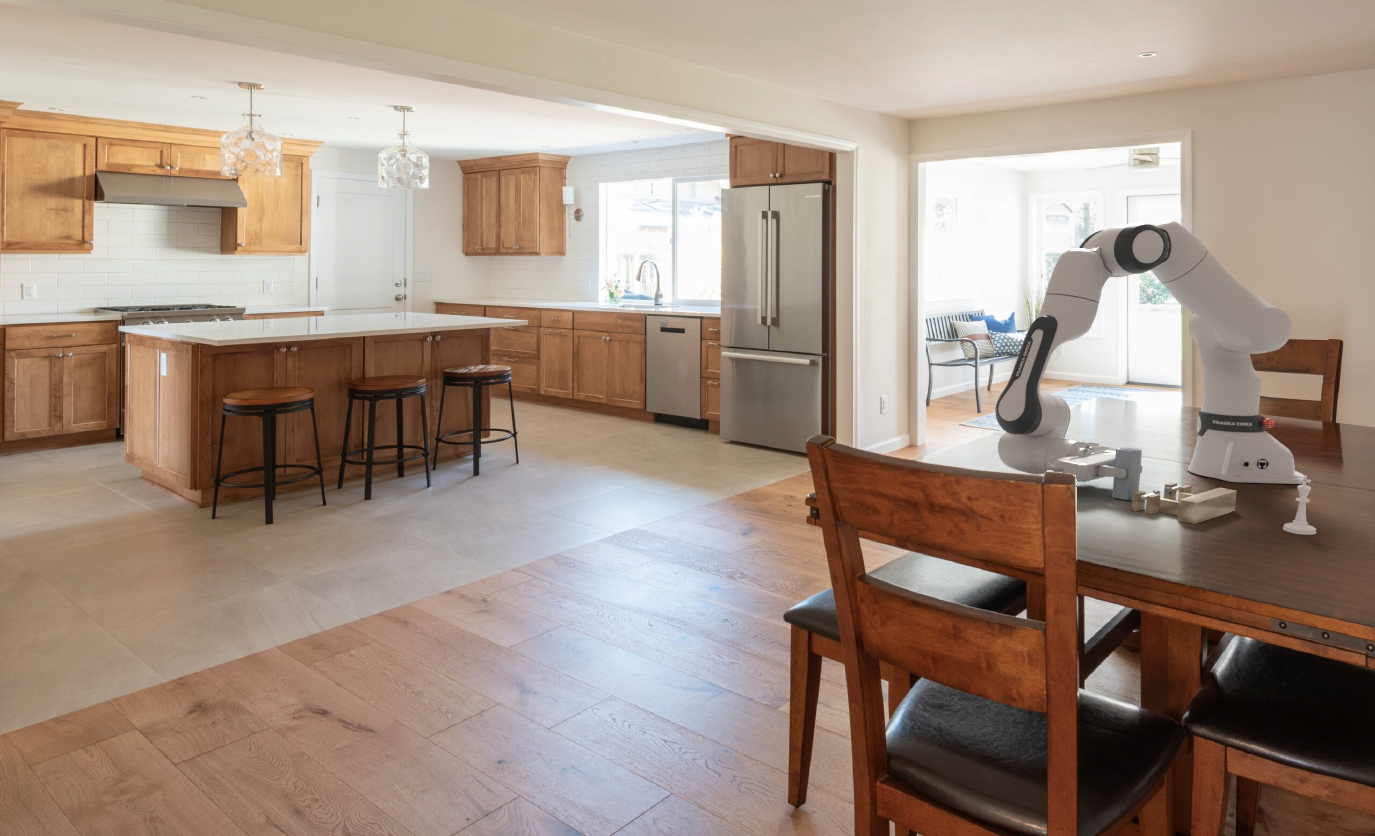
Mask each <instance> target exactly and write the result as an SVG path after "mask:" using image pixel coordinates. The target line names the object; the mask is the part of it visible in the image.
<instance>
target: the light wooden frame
mask: <svg viewBox="0 0 1375 836" xmlns="http://www.w3.org/2000/svg"><path fill="white" fill-rule="evenodd" d="M1175 486H1178V483H1177V482H1172V481H1171V482H1168V483H1165V484H1164V490H1163V497H1161V494H1160V495H1159V494H1152V495H1149V496H1147V499H1146V500H1144V499H1141V496H1142V495H1146V491H1144V490H1139V491H1138V492H1135V493H1132V500H1131V507H1130V508H1131V509H1130V511H1134V512H1138V511H1142V510H1145V514H1148V515H1154V514H1156V513H1157V514H1158V513H1162V514H1169V515H1171V516H1172V515H1173V516H1177V521H1179V522H1183V523H1186V524H1188V523H1189V524H1192V525H1196V524H1199V523H1202V522H1205V521H1207V520H1211V519H1214V518H1217V517H1219V516H1223V515H1227V514H1229V513H1233V512H1235V510H1236V502H1237V501H1236V500H1237V493H1238V492H1237V490H1236V489H1230V488H1224V487H1218V488H1214V489H1211V490H1207V491H1203V492H1201V493H1197V494H1193V493H1192V485H1188V484H1185V485H1180V486H1181V487H1179V490H1178V491H1174V492H1172V494H1165V487H1171V488H1172V487H1175ZM1177 493H1178V497H1177ZM1145 502H1146V503H1145ZM1232 511H1233V512H1232ZM1153 513H1154V514H1153Z"/></svg>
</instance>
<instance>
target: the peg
mask: <svg viewBox="0 0 1375 836" xmlns="http://www.w3.org/2000/svg"><path fill="white" fill-rule="evenodd" d="M1115 449H1116V455H1115V467H1116V468H1119V467H1121V468H1126V469H1128V476H1127V477H1124V478H1119V477H1113V483H1112V495H1111V497H1112V498H1114V499H1115V498H1116V499H1119V500H1124V501H1132V493H1135V492H1138V491H1140V481H1141V473H1140V469H1141V466H1142V455H1143V454H1142V453H1143V449H1141V448H1137V447H1129V446H1123V447H1119V448H1115Z"/></svg>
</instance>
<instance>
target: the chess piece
mask: <svg viewBox="0 0 1375 836" xmlns="http://www.w3.org/2000/svg"><path fill="white" fill-rule="evenodd" d="M1299 482H1303V484H1298V485H1297V486H1296V487H1297V491H1298V495H1299V497H1296V498H1295V501H1296V502H1298V505H1297V506H1298V507H1297V511H1296V515H1295V518H1294V520H1292V522H1286V523H1284V524H1283V527H1282V530H1283V531H1285V532H1288V533H1292V534H1296V535H1305V536H1306V535H1307V536H1312V535H1315V534H1317V528H1316V527H1314V526H1313V525H1310V524H1309V522H1308V521H1307V507H1306V506H1307V503H1310V502H1311V500H1310V499H1309V498H1308V495H1309V493H1310V492H1311V489H1312V487H1311V486H1309V485H1307V483H1310V484H1311V483H1312V479H1308V475H1304V479H1299Z"/></svg>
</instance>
